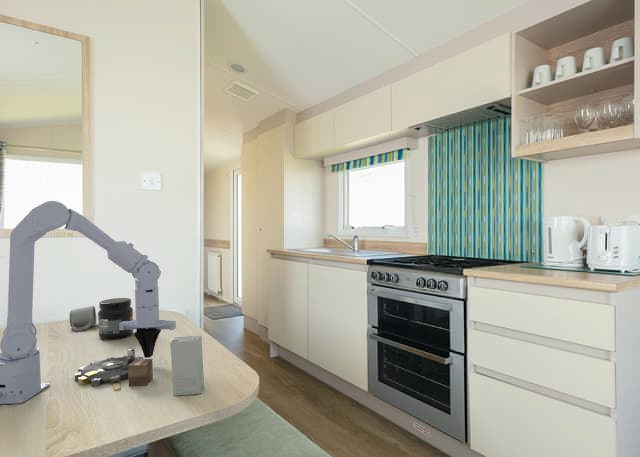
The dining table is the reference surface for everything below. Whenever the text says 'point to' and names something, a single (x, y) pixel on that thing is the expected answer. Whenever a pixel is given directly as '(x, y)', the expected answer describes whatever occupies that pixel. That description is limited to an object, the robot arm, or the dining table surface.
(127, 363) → the sprocket
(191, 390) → the skincare box
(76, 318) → the ceramic mug
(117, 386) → the pointer
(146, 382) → the walnut block
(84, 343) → the dining table surface
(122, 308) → the supplement container
